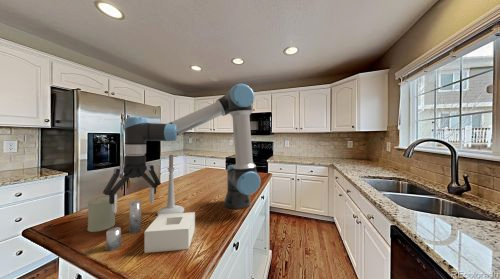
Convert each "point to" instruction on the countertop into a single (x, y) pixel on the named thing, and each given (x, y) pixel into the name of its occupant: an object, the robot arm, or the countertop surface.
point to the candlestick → (171, 194)
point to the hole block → (170, 232)
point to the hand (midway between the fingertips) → (134, 206)
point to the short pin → (113, 238)
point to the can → (100, 214)
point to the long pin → (135, 216)
